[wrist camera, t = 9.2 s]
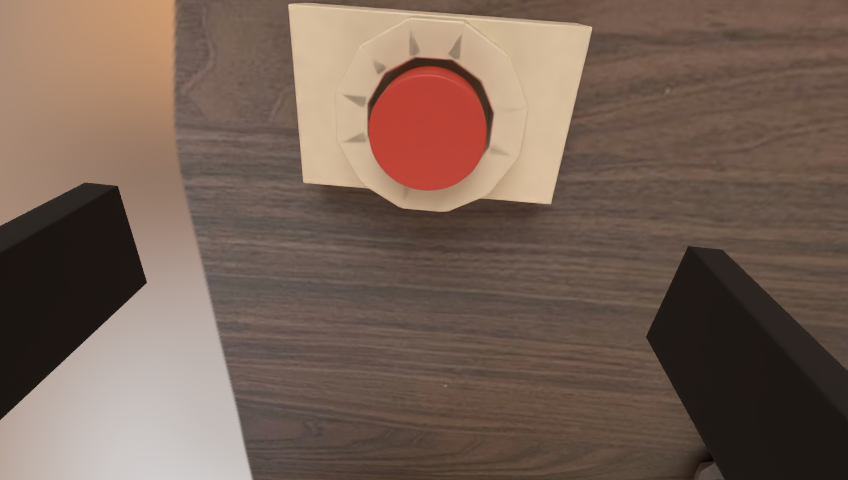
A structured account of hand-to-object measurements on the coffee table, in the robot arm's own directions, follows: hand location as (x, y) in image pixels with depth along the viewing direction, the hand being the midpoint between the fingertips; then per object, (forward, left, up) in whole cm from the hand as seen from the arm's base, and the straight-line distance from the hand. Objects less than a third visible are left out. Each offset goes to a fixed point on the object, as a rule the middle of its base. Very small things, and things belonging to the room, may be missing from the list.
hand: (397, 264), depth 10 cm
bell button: (0, +1, -7) cm, 7 cm away
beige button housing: (0, +1, -11) cm, 11 cm away
